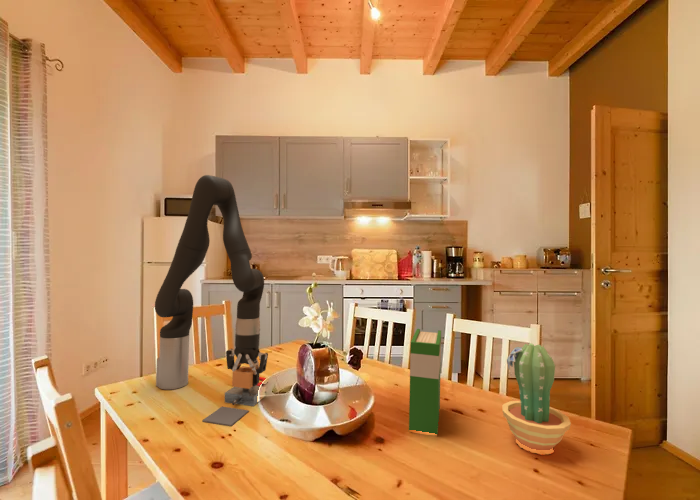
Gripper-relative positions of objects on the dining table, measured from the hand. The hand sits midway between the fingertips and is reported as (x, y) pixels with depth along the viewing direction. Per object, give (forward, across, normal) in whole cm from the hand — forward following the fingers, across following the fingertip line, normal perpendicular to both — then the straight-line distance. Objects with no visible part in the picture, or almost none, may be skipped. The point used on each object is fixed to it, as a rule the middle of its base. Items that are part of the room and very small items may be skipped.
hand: (245, 383), depth 110 cm
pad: (+5, +1, -12) cm, 13 cm away
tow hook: (+5, -4, +13) cm, 14 cm away
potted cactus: (+4, +83, -4) cm, 83 cm away
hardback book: (+4, +56, +2) cm, 57 cm away
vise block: (+5, 0, -2) cm, 5 cm away
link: (0, 0, 0) cm, 0 cm away
